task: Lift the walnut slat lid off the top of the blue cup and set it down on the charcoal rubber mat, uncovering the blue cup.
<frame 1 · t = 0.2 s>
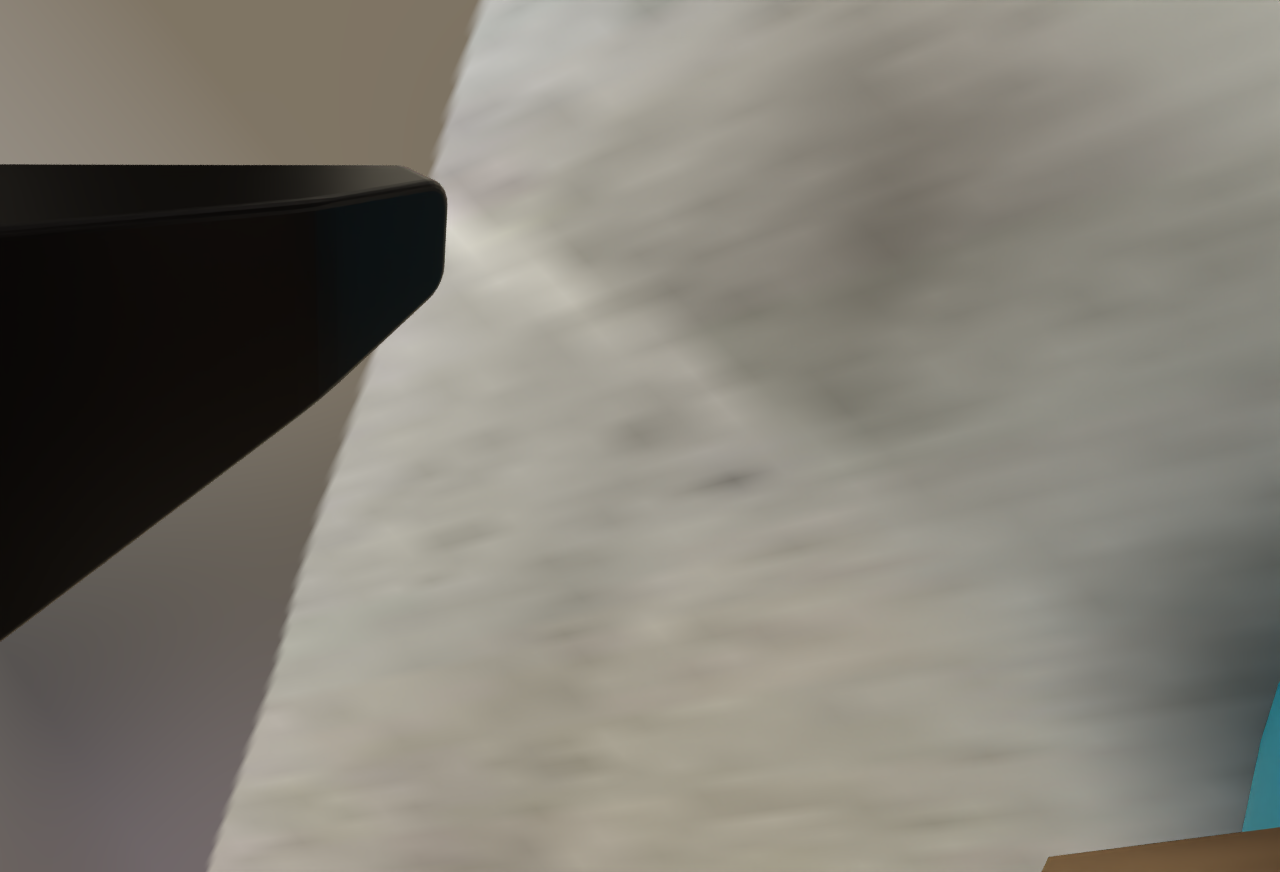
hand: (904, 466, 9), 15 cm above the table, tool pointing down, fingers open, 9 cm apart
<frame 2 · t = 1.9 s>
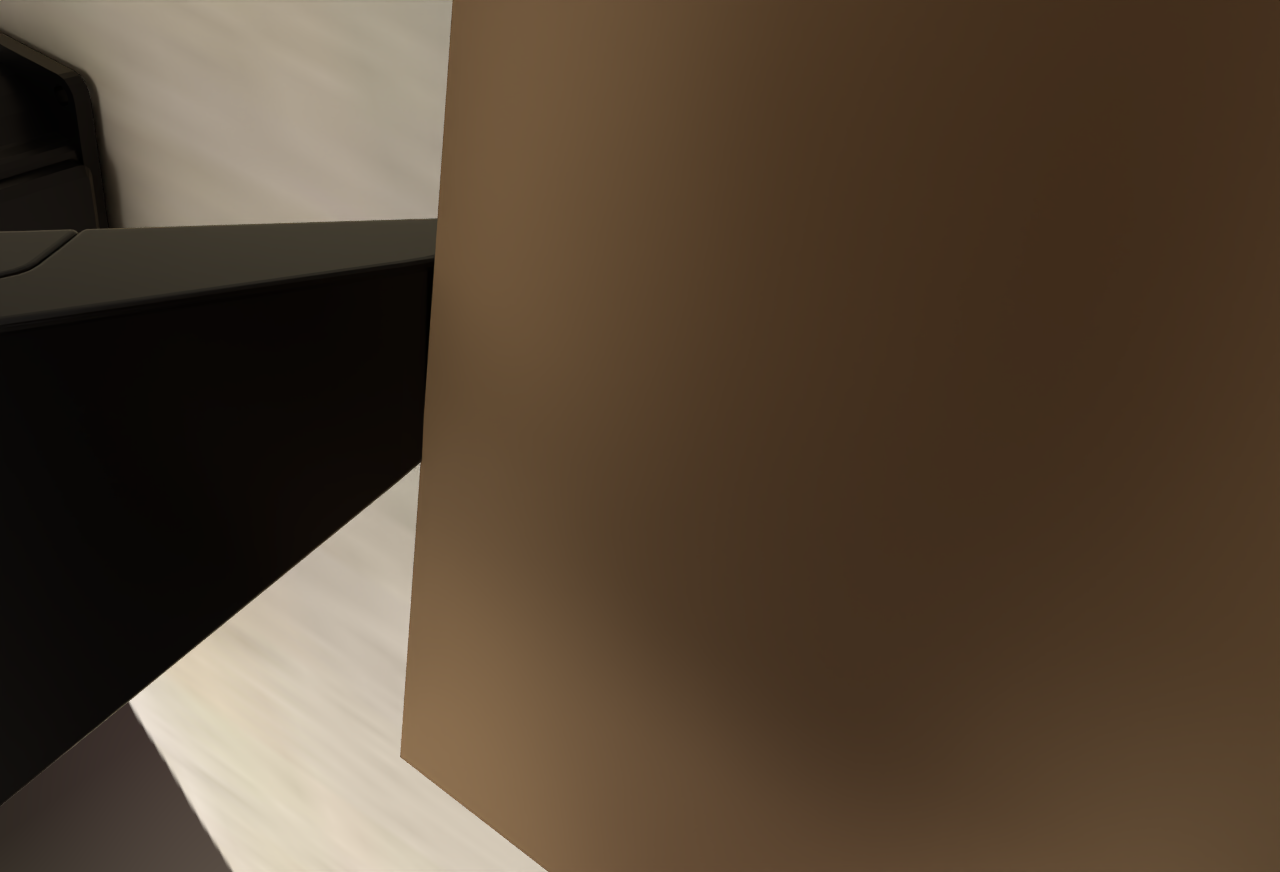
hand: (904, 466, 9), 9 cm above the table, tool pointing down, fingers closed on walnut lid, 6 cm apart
walnut lid: (937, 427, 9), point 8 cm above the table, touching gripper, blue cup
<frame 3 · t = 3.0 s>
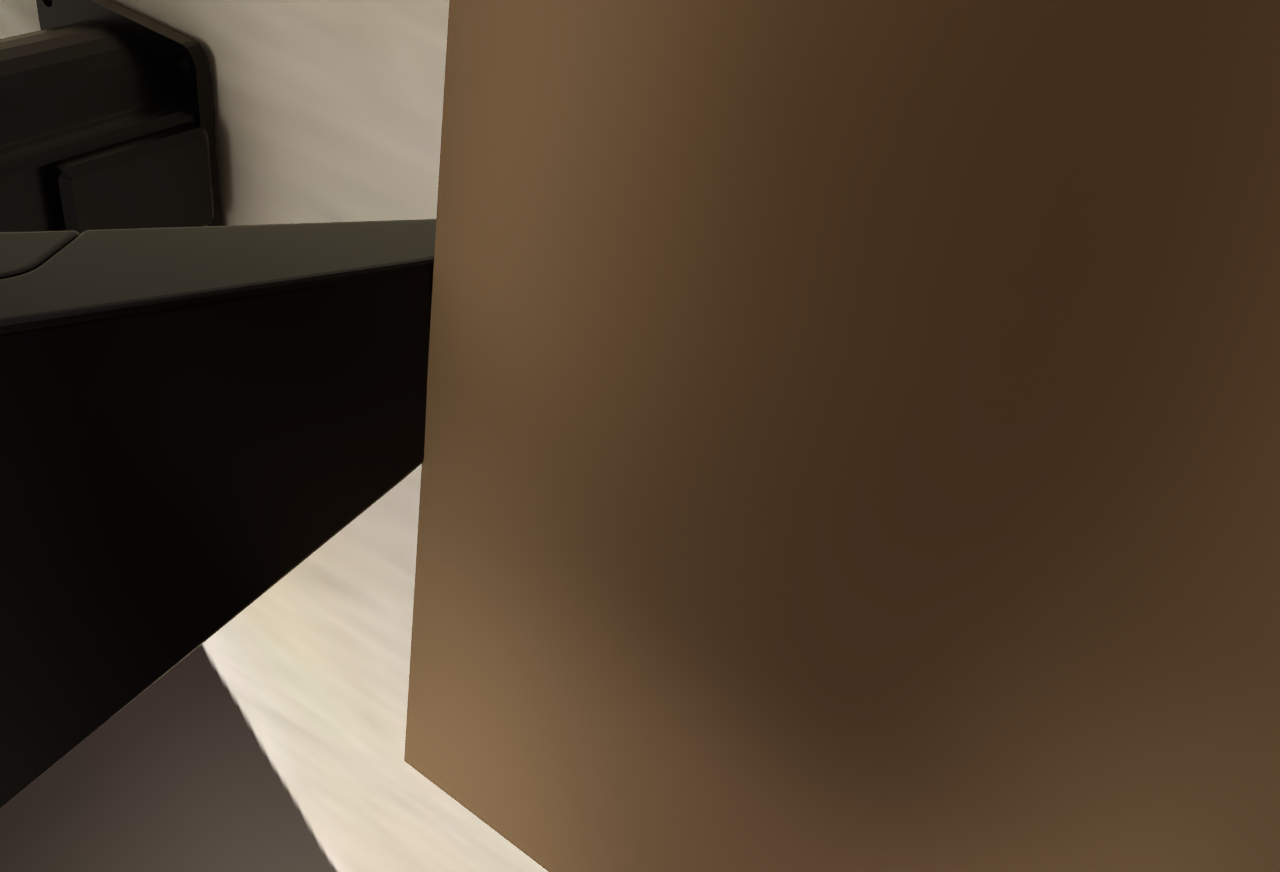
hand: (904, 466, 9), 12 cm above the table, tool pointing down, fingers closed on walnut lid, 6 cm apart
walnut lid: (937, 426, 9), point 12 cm above the table, touching gripper
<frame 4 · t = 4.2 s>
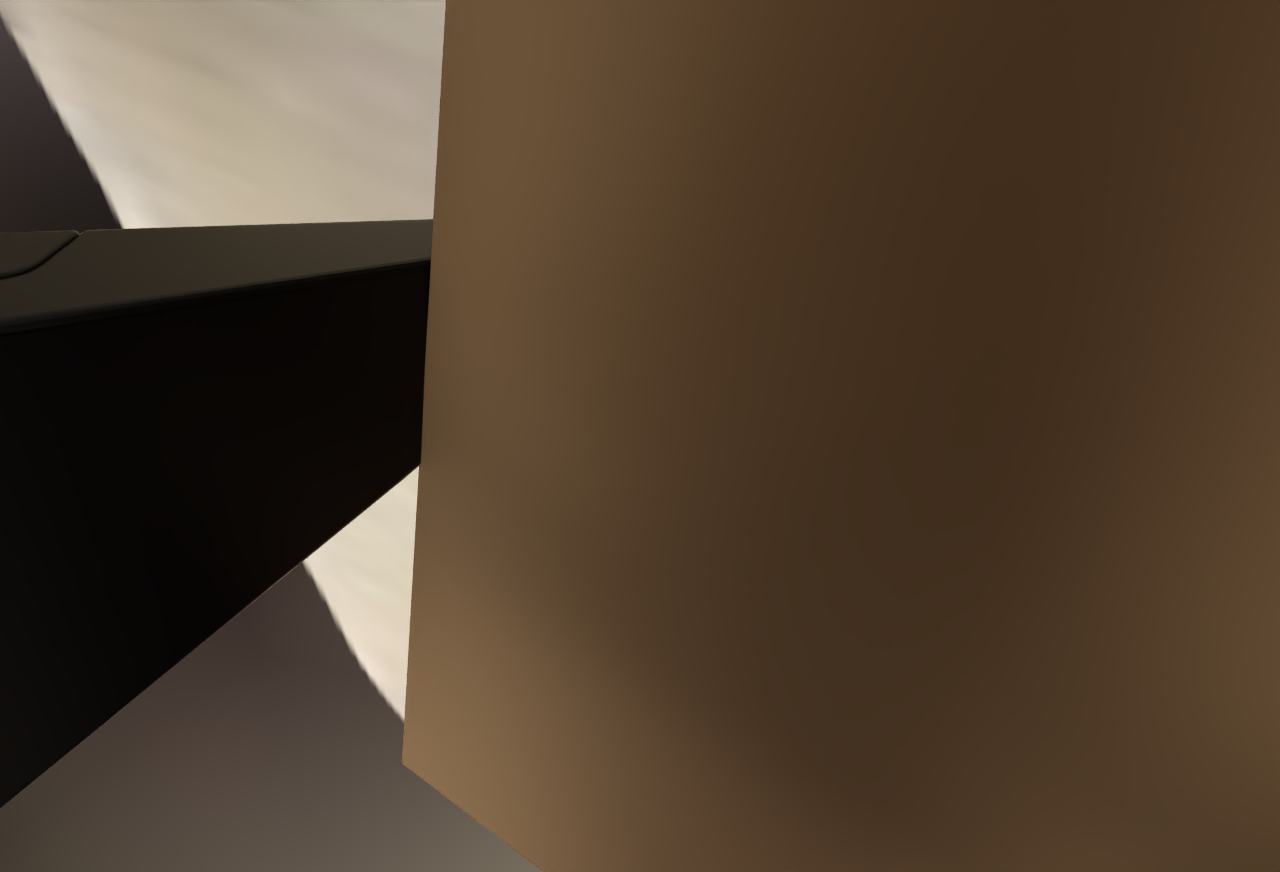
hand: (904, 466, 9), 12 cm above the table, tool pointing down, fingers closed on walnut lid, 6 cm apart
walnut lid: (935, 428, 9), point 12 cm above the table, touching gripper
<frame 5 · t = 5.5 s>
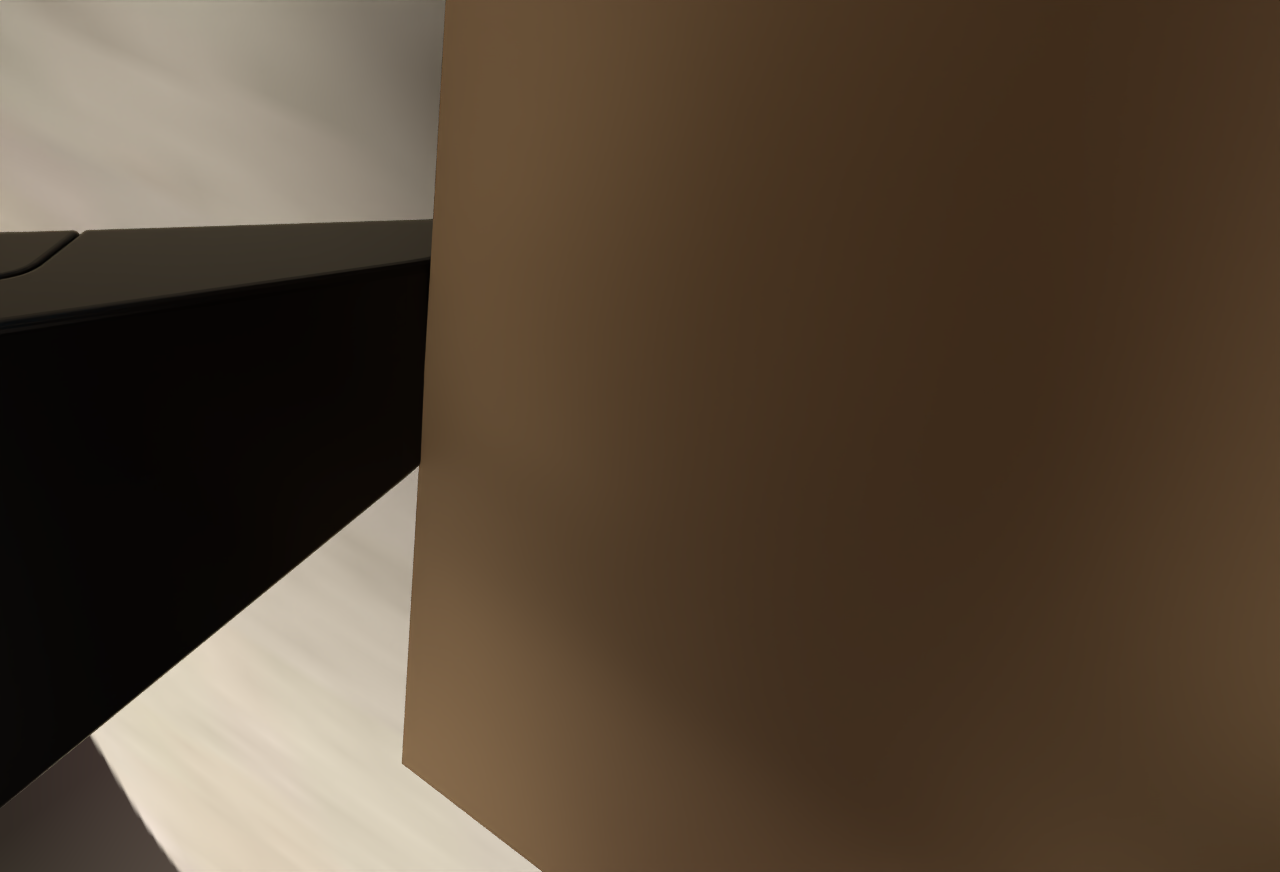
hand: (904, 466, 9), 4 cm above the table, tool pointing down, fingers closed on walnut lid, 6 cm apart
walnut lid: (935, 428, 9), point 4 cm above the table, touching gripper
when the fingers open (3 cm above the table, at t = 6.4 s): walnut lid drops 1 cm, resting on rubber mat.
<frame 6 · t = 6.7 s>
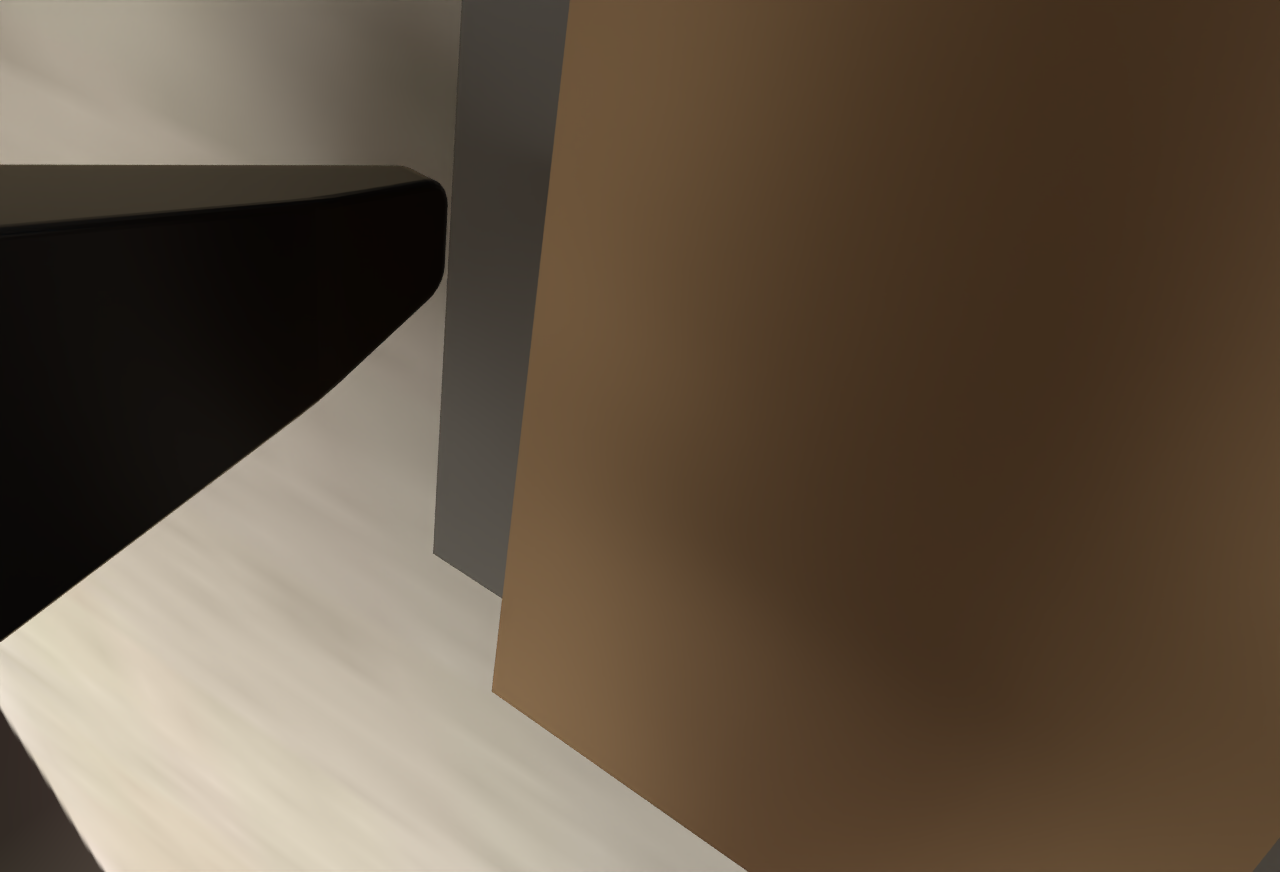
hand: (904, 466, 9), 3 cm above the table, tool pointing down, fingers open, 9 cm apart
rubber mat: (1034, 335, 11), on the table
walnut lid: (998, 361, 10), point 1 cm above the table, touching rubber mat
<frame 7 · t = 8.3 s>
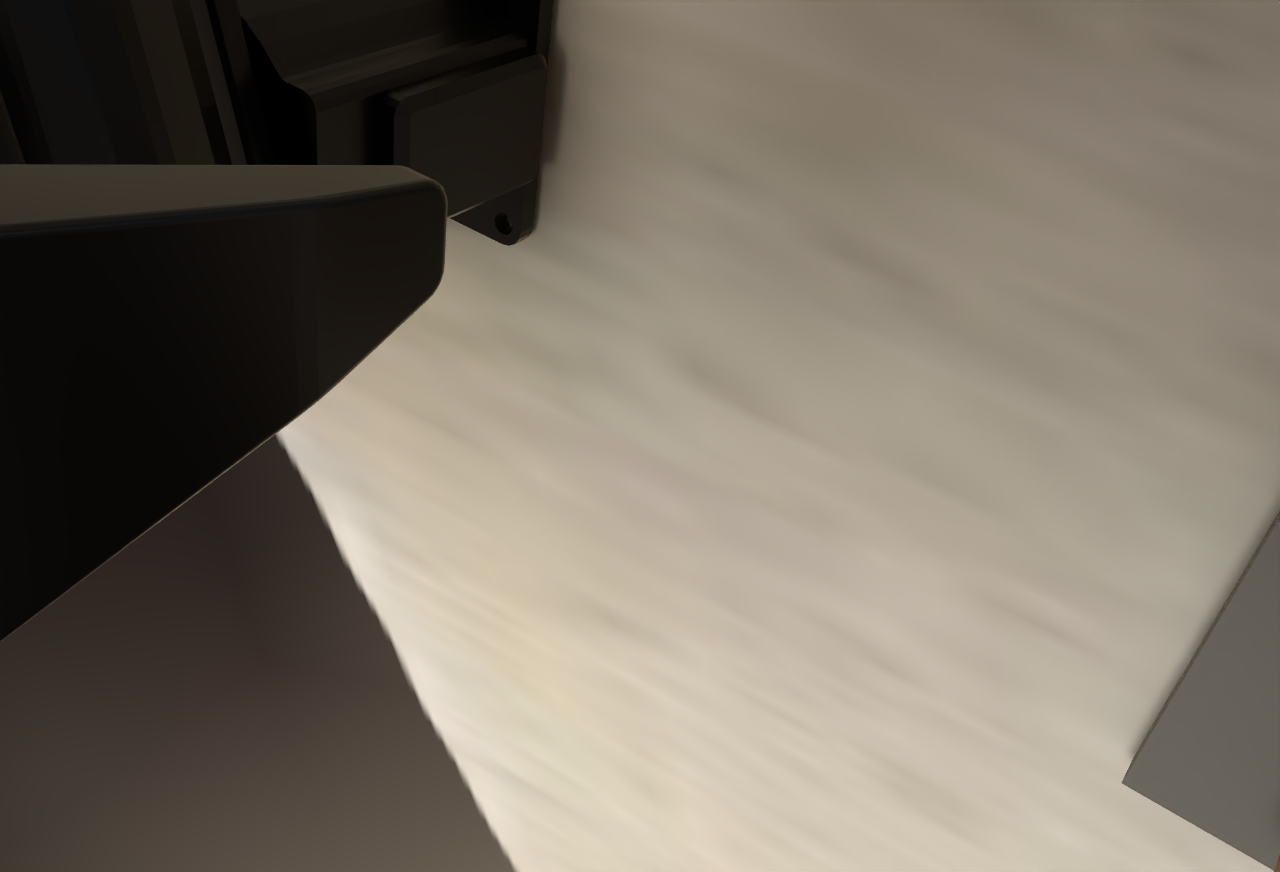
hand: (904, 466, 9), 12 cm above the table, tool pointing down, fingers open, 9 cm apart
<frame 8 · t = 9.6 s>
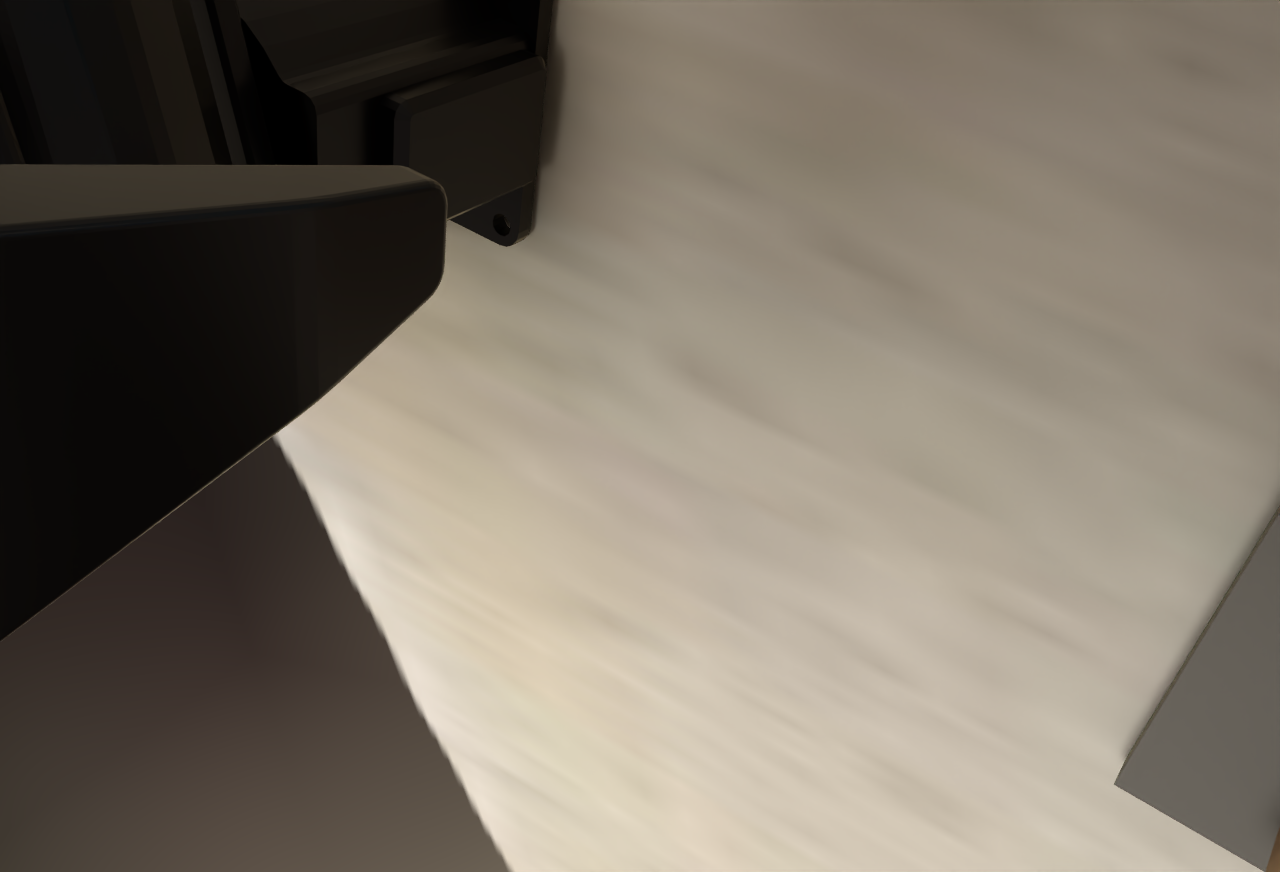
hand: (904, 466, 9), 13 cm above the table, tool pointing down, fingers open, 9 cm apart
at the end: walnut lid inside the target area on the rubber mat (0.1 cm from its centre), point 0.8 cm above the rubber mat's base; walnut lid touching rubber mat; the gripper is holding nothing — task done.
